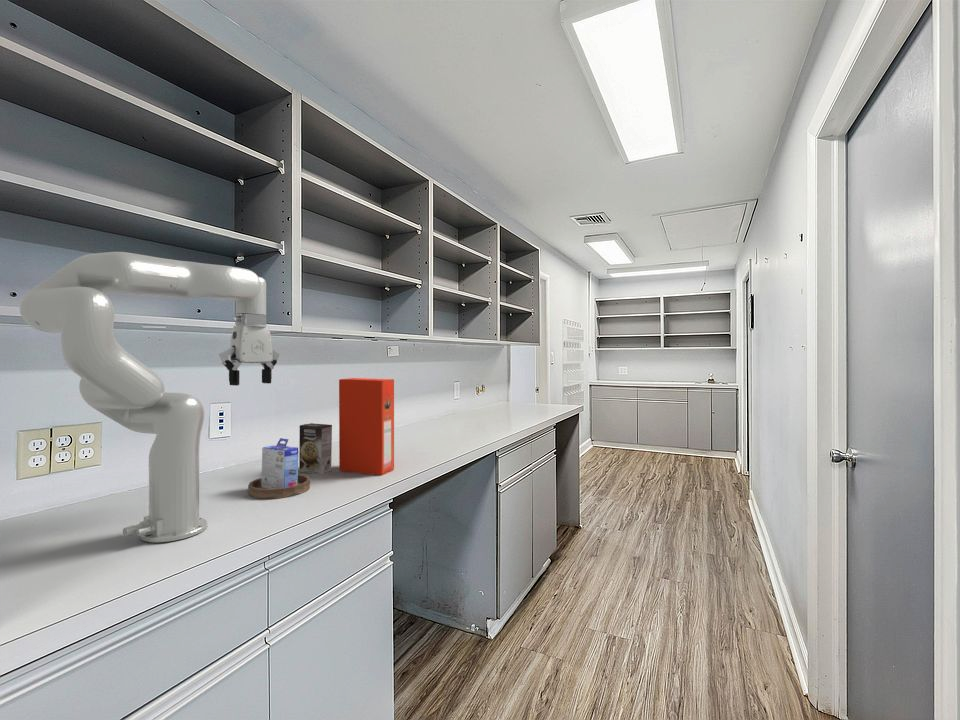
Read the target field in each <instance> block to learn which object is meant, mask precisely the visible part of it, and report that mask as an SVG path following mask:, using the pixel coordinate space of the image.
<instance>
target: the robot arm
mask: <svg viewBox="0 0 960 720" xmlns="http://www.w3.org/2000/svg"><path fill="white" fill-rule="evenodd" d="M266 281H267V280H266V279H264V277H260V276H258V274H257V273H255V272H254V271H253V270H250V269H248V268H243V267H237V266H230V265H222V264H213V263H212V264H211V263H204V262H203V263H202V262H196V261H186V260H179V259H171V258H163V257H157V256H151V255H145V254H140V253H133V252H126V251H109V252H107V251H106V252H97V253H96V252H95V253H94V252H93V253H87V254H85V255H84V254H83V255H81V256H78V257H77V258H76V259H74V260H71V262H69V263H68V264H66V265H65V266H63V267H62V268H60V269H58V270H57V271H55V272H54V273H53V274H52V275H50V276H49V277H47V278H45V280H43V281H42V282H40V283H39V284H37V285H36V286H34V288H32V289H30V290H29V291H28V292H27V293H26V294H25V295H24V296H23V297H22V299H21V301H20V305H19V313H20V317H21V318H22V320H23V321H24V322H25V323H26V324H27V325H28V326H29V327H31V328H33V329H35V330H36V331H40V332H44V333H49V334H51V333H53V334H58V333H61V334H60V344H61V352H62V357H63V360H64V362H65V364H66V365H67V366H68V368H69V369H70V371H72V372H73V373H74V374H75V375H77V376H78V377H80V380H79V385H78V388H79V393H80V395H81V398H82V399H83V400H84V402H85V403H86V404H87V405H88V406H90V407H91V408H92V409H94V410H96V411H97V412H99V413H100V414H102V415H104V416H105V417H107V418H109V419H110V420H113V422H115V423H117V424H118V425H121V426H122V427H123V428H125V429H128V430H130V431H133V432H136V433H140V434H152V435H155V439H154V440H153V443H152V444H151V446H150V450H149V453H148V515H145V516H143V520H142V521H140V522H139V523H138V524H136V525H134V524H133V525H129V526H126V527H123V528H122V535H123V536H124V537H125V538H127V537H130V536H133V535H136V536H137V537H138V536H139V537H140V540H141V541H144V542H147V543H156V544H157V543H168V542H175V541H179V540H184V539H187V538H190V537H193V536H195V535H198V534H201V533H202V532H204V530H205V529H207V528H208V520H206V519H205V518H203V517H200V441H201V434H202V429H203V425H204V420H205V408H204V406H203V403H202V402H201V401H200V400H199V399H198V398H197V397H195V396H193V395H191V394H187V393H183V392H168V391H167V392H165V384H164V381H163V380H162V378H161V377H160V376H159V375H158V374H157V373H156V372H154V370H152V369H150V368H149V367H148V366H147V365H145V364H144V363H142V362H141V361H140V360H139V359H137V358H136V357H135V356H134V355H133V354H131V353H129V352H128V351H127V350H126V349H124V347H122V346H121V345H120V344H119V343H118V340H117V339H116V337H115V333H114V332H115V331H114V325H115V323H114V322H115V308H114V305H113V302H112V300H111V299H110V298H109V296H108V295H133V296H144V297H147V296H148V297H158V298H159V297H161V298H171V299H172V298H173V299H197V298H208V297H209V298H211V299H214V300H216V301H235V314H234V315H233V316H232V317H231V321H232V322H234V324H235V325H233V328H232V330H231V337H230V345H229V346H230V347H228V348H226V349H225V350H224V351H222V352H220V353H219V354H218V356H219V358H220V360H221V361H222V362H221V363H222V365H224V367H226V370H227V371H228V381H229V385H230V386H240V370H239V368H240V366H241V365H242V364H243V363H244V364H260V365H261V366H262V367H263V368H262V369H261V383H262V384H267V385H268V384H272V379H273V378H272V375H273V374H272V372H273V371H272V370H274V367H275V366H276V365H277V362H278V360H279V357H280V353H279V352H277V351H275V350H273V343H272V334H271V331H270V328H269V326H268V327H267V282H266ZM229 358H230V359H229Z"/></svg>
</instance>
